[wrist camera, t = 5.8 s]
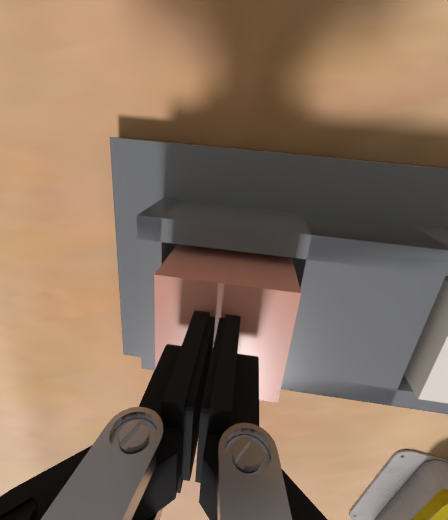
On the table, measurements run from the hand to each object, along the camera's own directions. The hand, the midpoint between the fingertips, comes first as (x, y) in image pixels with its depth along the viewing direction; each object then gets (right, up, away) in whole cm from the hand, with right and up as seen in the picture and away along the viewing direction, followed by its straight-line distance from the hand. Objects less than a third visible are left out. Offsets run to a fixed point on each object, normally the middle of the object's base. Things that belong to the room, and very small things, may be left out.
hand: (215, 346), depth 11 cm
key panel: (+6, +2, +6) cm, 9 cm away
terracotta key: (+1, +1, +3) cm, 4 cm away
